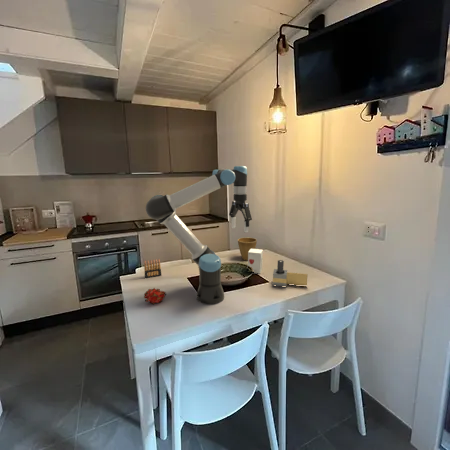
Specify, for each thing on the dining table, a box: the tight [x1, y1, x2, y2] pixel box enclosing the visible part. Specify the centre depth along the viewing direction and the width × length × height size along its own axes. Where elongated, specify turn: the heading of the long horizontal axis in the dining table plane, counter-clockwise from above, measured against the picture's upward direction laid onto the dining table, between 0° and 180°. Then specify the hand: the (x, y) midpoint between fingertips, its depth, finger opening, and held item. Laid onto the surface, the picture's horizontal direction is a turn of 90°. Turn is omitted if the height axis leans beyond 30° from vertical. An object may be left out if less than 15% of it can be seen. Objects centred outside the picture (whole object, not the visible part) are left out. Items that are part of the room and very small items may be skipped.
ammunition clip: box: [143, 258, 162, 279], centre depth 176 cm, size 11×2×12 cm, turn 115°
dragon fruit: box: [143, 287, 167, 305], centre depth 142 cm, size 8×8×12 cm
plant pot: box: [237, 237, 258, 262], centre depth 210 cm, size 15×15×16 cm
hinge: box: [272, 268, 308, 287], centre depth 169 cm, size 20×20×8 cm
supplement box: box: [247, 248, 264, 275], centre depth 185 cm, size 9×9×15 cm
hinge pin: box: [276, 259, 285, 274], centre depth 164 cm, size 4×4×15 cm
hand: (239, 230), depth 157 cm, fingers open, 13 cm apart
